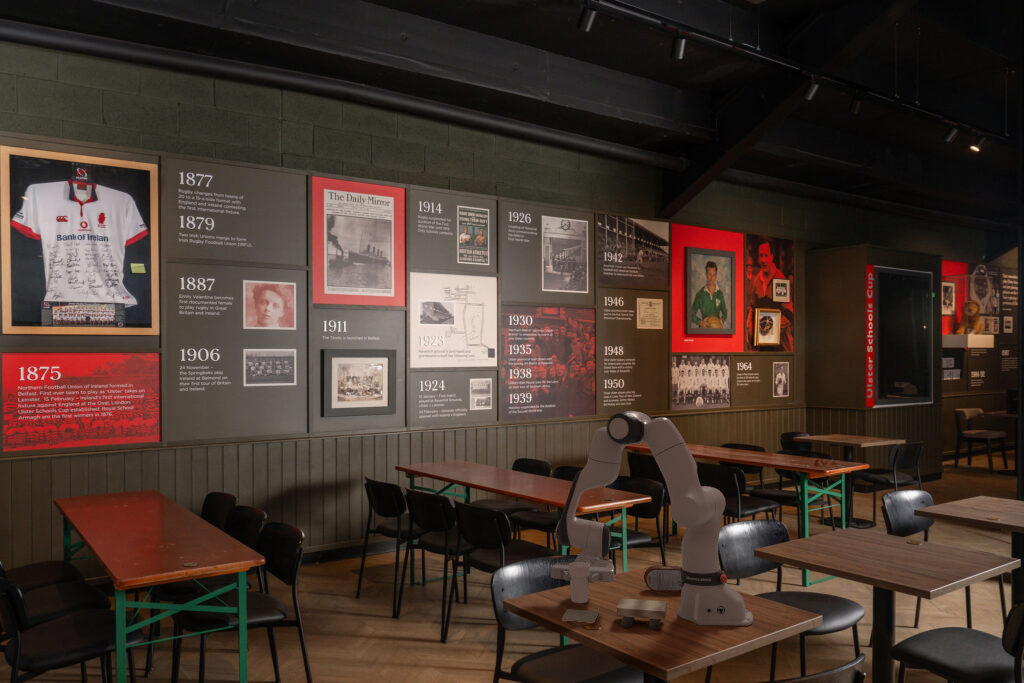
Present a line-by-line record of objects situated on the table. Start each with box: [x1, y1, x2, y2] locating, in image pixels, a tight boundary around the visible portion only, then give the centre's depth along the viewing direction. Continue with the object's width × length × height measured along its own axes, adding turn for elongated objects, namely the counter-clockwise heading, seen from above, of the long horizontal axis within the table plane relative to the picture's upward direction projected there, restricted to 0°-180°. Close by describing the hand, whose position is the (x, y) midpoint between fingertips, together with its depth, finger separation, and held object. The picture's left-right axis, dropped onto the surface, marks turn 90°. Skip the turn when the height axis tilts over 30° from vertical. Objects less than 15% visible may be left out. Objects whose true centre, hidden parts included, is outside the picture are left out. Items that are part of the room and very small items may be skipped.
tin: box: [643, 565, 682, 592], centre depth 259 cm, size 15×3×8 cm, turn 84°
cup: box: [568, 561, 590, 604], centre depth 232 cm, size 7×7×11 cm
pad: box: [561, 608, 600, 624], centre depth 231 cm, size 10×10×1 cm
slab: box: [616, 597, 668, 631], centre depth 226 cm, size 14×12×5 cm
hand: (579, 579), depth 231 cm, fingers closed on cup, 6 cm apart
